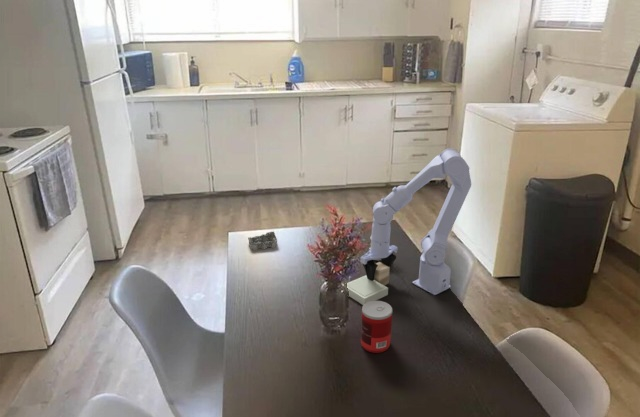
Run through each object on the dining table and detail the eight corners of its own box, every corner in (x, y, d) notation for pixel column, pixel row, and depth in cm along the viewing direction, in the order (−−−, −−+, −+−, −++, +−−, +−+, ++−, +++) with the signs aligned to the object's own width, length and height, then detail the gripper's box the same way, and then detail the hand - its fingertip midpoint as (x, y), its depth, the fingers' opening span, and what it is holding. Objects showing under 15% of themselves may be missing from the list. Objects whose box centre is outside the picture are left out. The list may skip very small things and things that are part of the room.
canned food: (394, 340, 126) (397, 305, 122) (382, 357, 120) (384, 321, 115) (368, 331, 130) (370, 297, 126) (355, 347, 123) (356, 312, 119)
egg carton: (275, 240, 184) (275, 230, 183) (278, 248, 178) (277, 238, 176) (248, 242, 182) (247, 233, 181) (249, 251, 175) (249, 241, 174)
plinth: (387, 294, 147) (388, 287, 146) (364, 305, 141) (364, 298, 140) (365, 281, 154) (366, 274, 153) (342, 291, 149) (342, 284, 148)
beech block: (388, 283, 153) (389, 267, 151) (378, 287, 151) (379, 271, 149) (378, 277, 157) (379, 261, 155) (368, 282, 154) (369, 266, 152)
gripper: (387, 229, 155) (384, 266, 160) (354, 240, 147) (352, 278, 151) (403, 236, 150) (400, 274, 155) (370, 248, 141) (367, 288, 146)
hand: (377, 277), depth 153 cm, fingers open, 6 cm apart
